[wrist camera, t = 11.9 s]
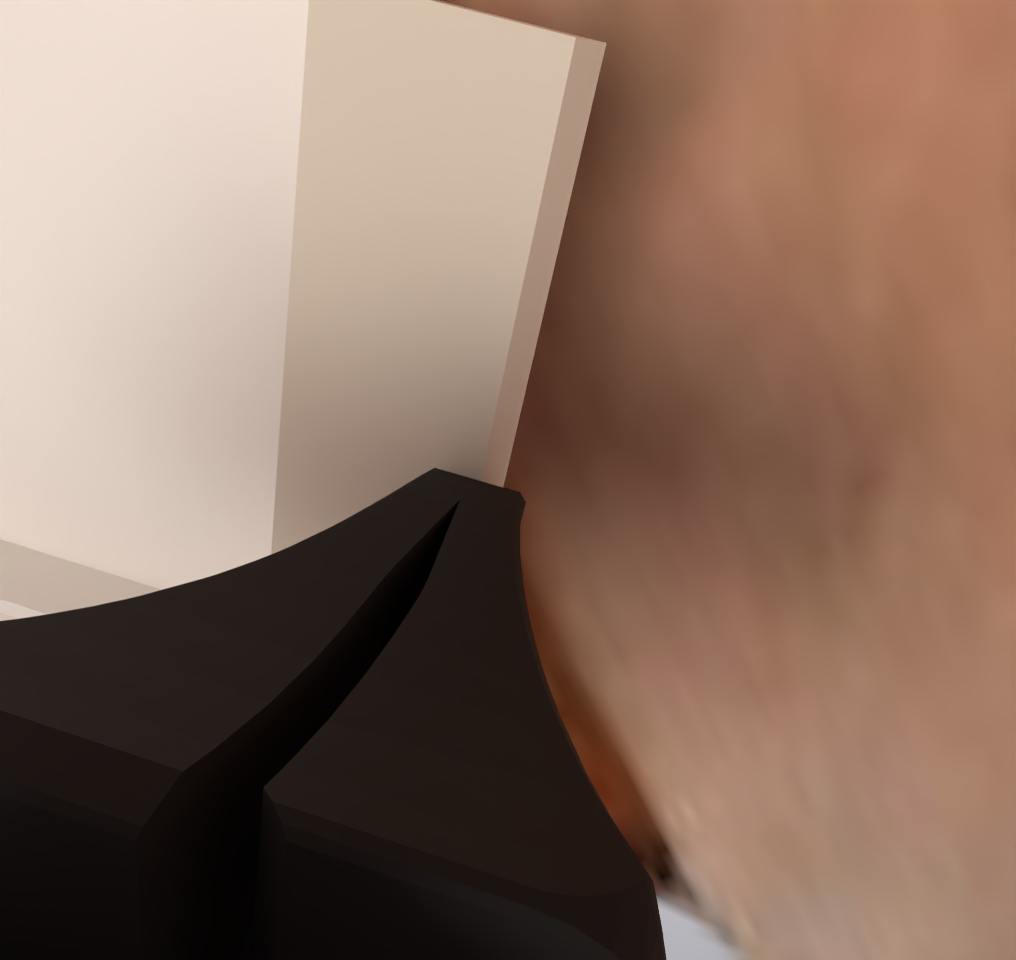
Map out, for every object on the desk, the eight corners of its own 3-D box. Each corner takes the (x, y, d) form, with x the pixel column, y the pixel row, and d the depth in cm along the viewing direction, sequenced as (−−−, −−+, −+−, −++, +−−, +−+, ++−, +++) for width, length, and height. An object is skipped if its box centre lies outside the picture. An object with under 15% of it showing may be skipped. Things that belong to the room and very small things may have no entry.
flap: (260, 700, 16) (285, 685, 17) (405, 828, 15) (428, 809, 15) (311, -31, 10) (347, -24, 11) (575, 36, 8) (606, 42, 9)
